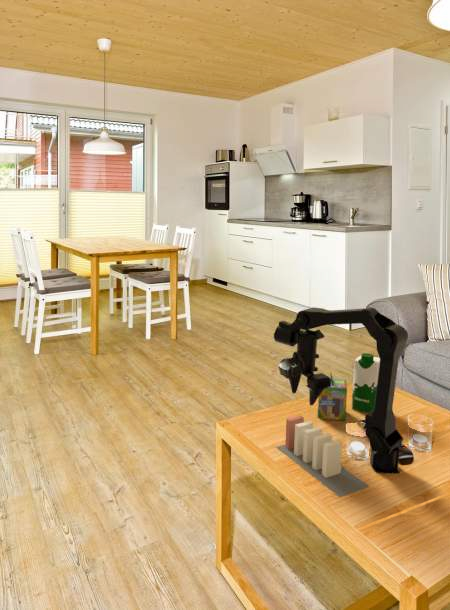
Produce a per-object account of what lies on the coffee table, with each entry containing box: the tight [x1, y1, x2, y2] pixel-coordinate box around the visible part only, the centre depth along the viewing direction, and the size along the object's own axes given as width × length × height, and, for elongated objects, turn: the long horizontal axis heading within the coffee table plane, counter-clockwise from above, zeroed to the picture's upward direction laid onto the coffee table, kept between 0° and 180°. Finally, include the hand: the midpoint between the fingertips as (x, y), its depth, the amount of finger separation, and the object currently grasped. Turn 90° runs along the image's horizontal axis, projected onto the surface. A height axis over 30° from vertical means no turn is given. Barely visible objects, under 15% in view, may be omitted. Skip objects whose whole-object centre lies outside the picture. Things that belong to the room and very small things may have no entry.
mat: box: [275, 444, 371, 498], centre depth 138 cm, size 28×10×1 cm, turn 29°
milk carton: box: [351, 352, 380, 414], centre depth 175 cm, size 9×9×20 cm
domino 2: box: [294, 420, 314, 456], centre depth 144 cm, size 2×5×9 cm, turn 118°
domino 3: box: [303, 426, 323, 463], centre depth 140 cm, size 2×5×9 cm, turn 118°
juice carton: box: [317, 371, 348, 422], centre depth 170 cm, size 9×9×15 cm
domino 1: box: [284, 415, 305, 450], centre depth 148 cm, size 2×5×9 cm, turn 118°
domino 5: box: [322, 439, 343, 478], centre depth 133 cm, size 2×5×9 cm, turn 119°
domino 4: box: [312, 432, 333, 470], centre depth 137 cm, size 2×5×9 cm, turn 118°
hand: (302, 398), depth 153 cm, fingers open, 9 cm apart
